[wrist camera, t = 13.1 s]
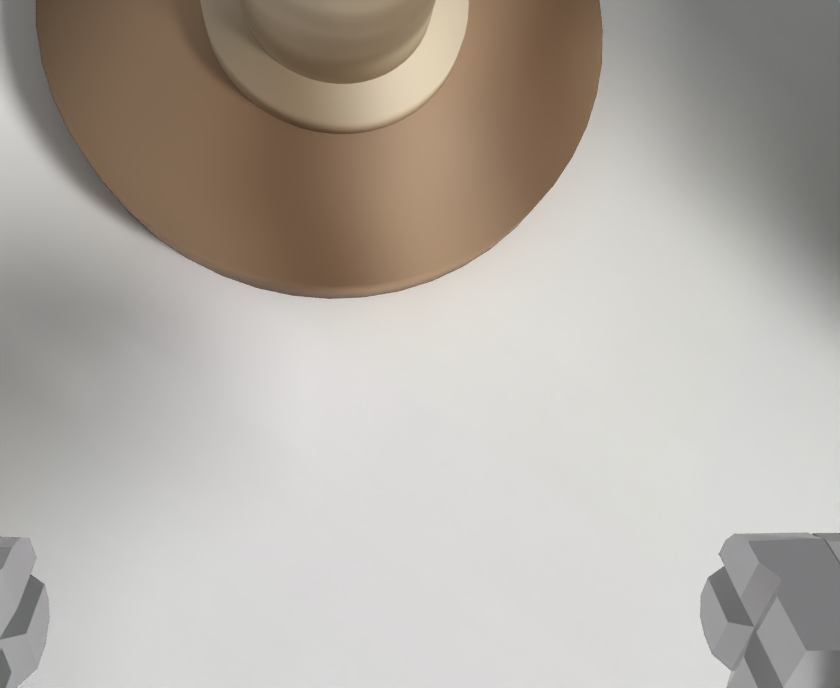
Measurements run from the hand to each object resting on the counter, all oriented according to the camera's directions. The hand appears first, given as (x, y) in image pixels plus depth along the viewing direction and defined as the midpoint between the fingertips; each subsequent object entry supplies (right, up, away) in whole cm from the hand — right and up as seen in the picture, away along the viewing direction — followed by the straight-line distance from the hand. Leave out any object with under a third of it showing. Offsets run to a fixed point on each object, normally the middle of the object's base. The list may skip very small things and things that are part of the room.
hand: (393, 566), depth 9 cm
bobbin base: (-2, +11, +12) cm, 16 cm away
